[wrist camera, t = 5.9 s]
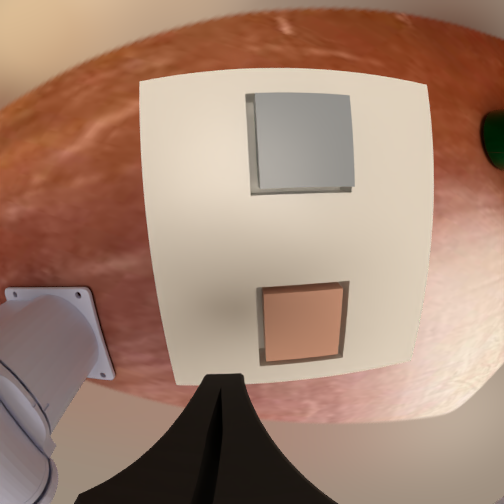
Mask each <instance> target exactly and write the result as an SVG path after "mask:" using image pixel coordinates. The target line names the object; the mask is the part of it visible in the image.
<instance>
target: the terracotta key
mask: <svg viewBox="0 0 504 504" xmlns="http://www.w3.org/2000/svg"><path fill="white" fill-rule="evenodd" d="M342 297H343V288H342V287H341V285H340V284H339V283H338V282H328V283H315V284H302V285H288V286H274V287H262V308H263V331H264V348H265V356H266V361H278V360H290V359H300V358H309V357H318V356H326V355H334V354H338V345H339V335H340V323H341V311H342Z"/></svg>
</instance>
